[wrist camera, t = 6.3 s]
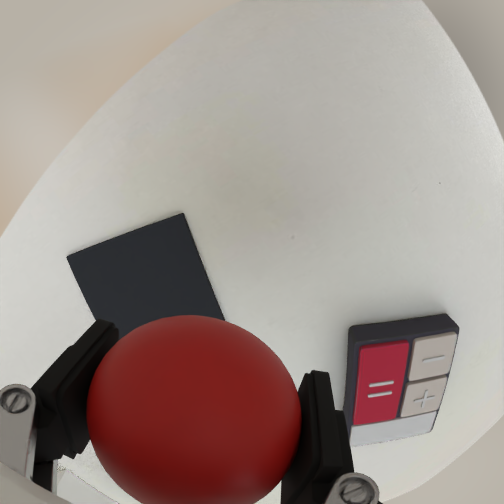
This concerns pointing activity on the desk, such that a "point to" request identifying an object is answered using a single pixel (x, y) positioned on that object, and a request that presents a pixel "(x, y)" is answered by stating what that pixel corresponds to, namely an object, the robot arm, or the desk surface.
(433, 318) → the calculator
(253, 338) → the red ball
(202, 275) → the side mat
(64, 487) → the tissue box
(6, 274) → the desk surface
